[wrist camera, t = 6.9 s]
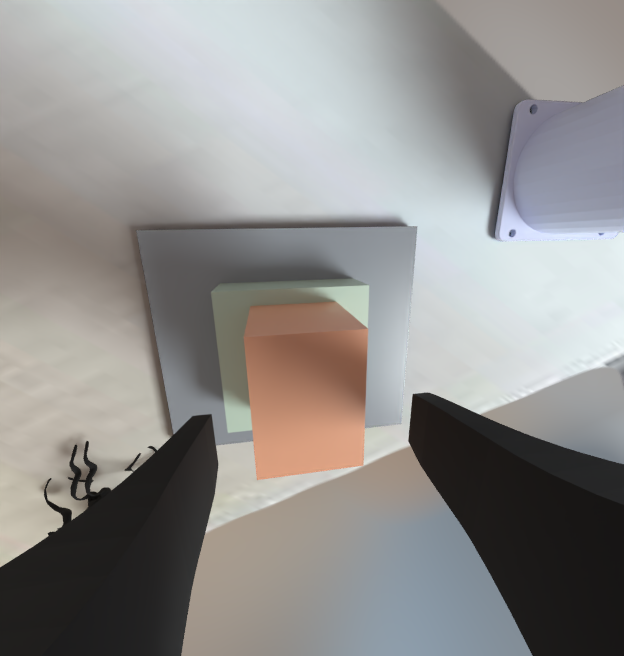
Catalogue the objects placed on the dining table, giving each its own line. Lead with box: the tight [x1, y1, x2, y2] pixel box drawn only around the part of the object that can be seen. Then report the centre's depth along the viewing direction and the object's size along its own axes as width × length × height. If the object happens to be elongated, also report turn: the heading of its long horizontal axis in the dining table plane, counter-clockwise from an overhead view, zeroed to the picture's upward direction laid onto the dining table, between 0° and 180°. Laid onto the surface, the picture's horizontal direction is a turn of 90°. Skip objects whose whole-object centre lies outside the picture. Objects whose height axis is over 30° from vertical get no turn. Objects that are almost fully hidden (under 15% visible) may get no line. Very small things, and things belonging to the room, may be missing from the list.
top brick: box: [244, 302, 368, 480], centre depth 13 cm, size 4×6×5 cm
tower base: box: [136, 226, 417, 445], centre depth 18 cm, size 16×14×4 cm
